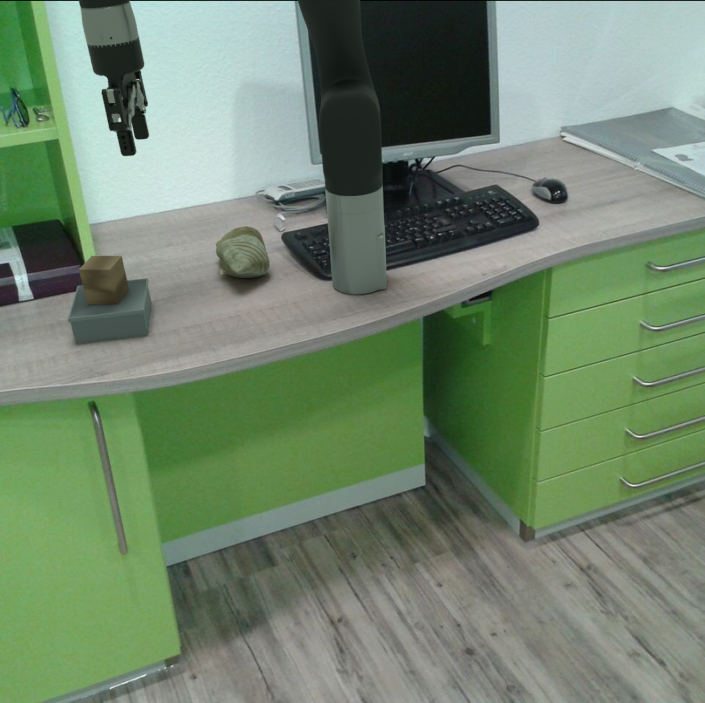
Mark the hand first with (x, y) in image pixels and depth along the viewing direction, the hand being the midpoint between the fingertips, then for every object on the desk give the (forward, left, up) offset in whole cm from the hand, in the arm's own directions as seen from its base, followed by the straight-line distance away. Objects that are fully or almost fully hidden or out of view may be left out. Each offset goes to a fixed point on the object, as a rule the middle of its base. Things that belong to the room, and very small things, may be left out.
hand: (136, 146), depth 129 cm
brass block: (+6, +10, -21) cm, 24 cm away
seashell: (-13, -7, -26) cm, 30 cm away
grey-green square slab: (+6, +10, -26) cm, 28 cm away
